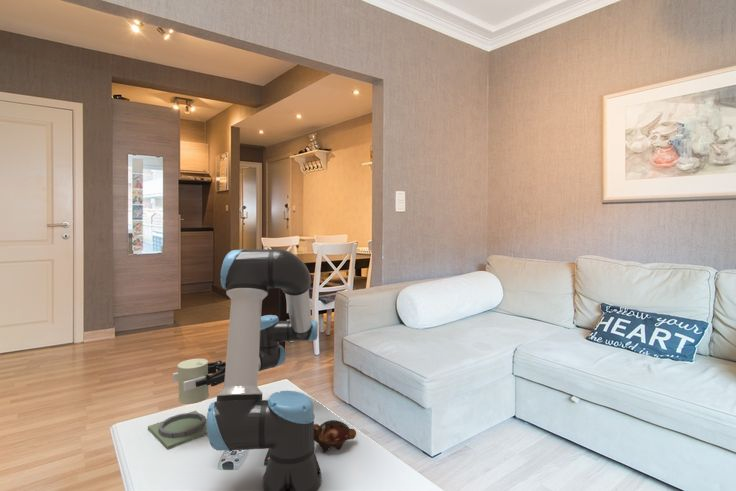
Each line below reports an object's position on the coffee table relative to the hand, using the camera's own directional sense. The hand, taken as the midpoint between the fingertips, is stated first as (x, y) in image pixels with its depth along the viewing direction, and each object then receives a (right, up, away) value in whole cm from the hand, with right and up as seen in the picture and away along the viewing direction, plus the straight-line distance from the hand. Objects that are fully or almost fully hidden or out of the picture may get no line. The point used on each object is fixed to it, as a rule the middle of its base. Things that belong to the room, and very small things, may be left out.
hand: (178, 382), depth 127 cm
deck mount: (-2, -18, +7) cm, 20 cm away
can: (+3, -7, +4) cm, 8 cm away
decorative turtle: (+49, -19, -3) cm, 53 cm away
